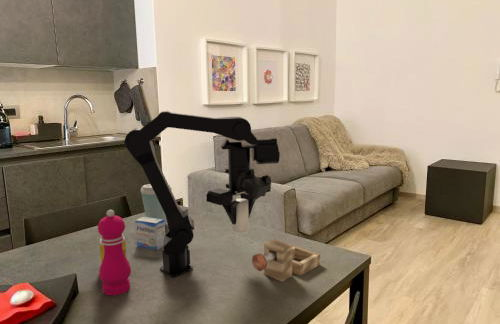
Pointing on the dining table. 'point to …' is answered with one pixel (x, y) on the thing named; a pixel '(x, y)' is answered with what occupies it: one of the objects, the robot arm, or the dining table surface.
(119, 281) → the pepper mill
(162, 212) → the disposable coffee cup
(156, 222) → the medicine box
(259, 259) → the lock pin
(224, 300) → the dining table surface
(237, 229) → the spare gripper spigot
